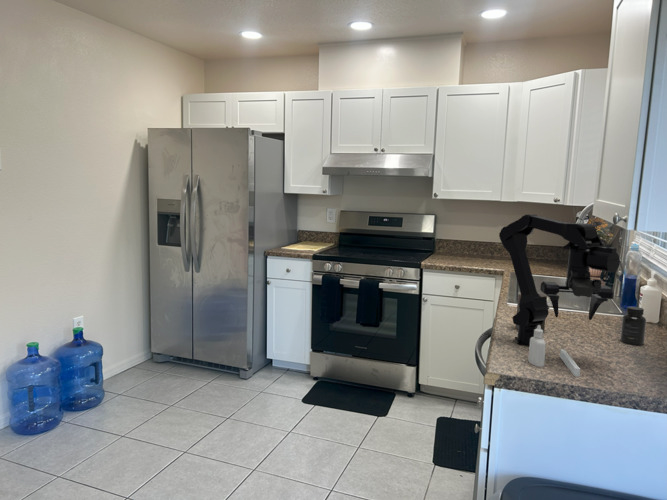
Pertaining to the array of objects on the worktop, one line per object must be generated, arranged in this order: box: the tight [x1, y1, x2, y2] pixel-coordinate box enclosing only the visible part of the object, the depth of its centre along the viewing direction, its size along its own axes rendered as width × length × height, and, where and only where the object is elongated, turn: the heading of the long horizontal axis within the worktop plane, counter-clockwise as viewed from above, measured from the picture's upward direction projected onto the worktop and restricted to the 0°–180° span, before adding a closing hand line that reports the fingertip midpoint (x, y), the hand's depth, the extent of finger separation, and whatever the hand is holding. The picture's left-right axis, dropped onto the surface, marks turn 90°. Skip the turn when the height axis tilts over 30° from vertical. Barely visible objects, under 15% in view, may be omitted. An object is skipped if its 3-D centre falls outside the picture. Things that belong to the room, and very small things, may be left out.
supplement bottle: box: [620, 305, 647, 346], centre depth 165 cm, size 7×7×12 cm
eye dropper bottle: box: [527, 325, 547, 368], centre depth 140 cm, size 4×6×12 cm
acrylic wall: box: [559, 348, 581, 378], centre depth 139 cm, size 16×1×3 cm, turn 168°
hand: (573, 318), depth 145 cm, fingers open, 9 cm apart
